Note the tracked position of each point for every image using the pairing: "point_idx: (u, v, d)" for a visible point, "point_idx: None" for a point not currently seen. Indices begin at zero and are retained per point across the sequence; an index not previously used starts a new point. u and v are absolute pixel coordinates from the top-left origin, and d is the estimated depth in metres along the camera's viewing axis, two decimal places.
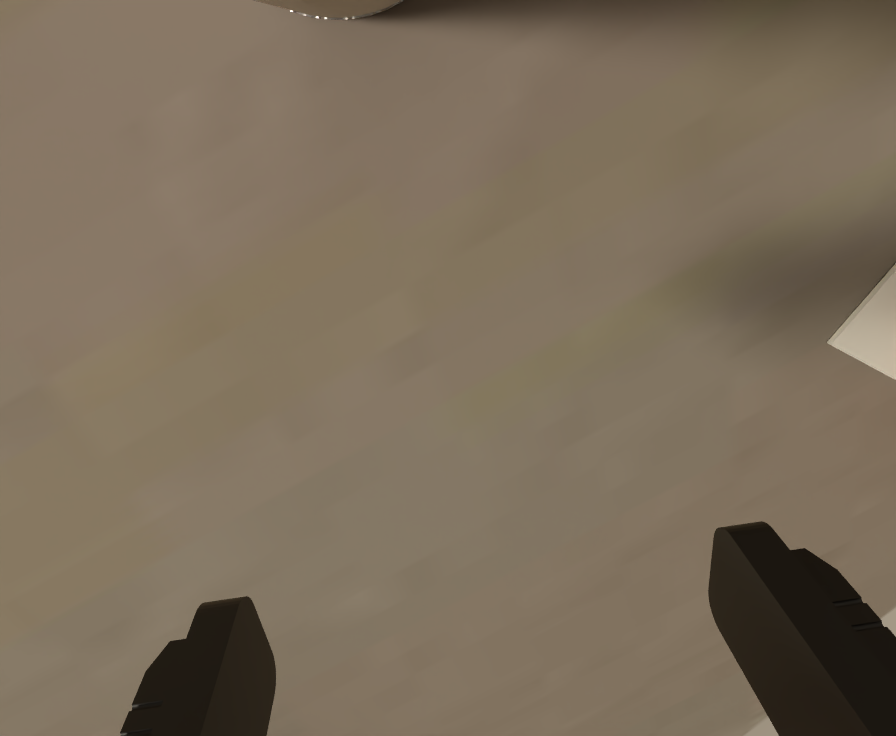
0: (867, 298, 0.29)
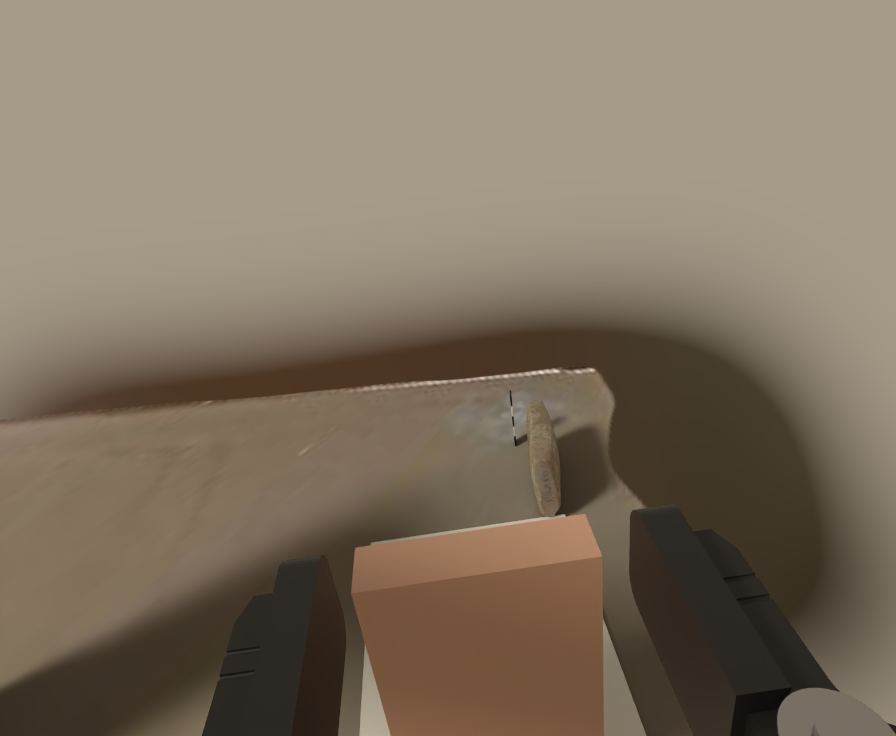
0: None
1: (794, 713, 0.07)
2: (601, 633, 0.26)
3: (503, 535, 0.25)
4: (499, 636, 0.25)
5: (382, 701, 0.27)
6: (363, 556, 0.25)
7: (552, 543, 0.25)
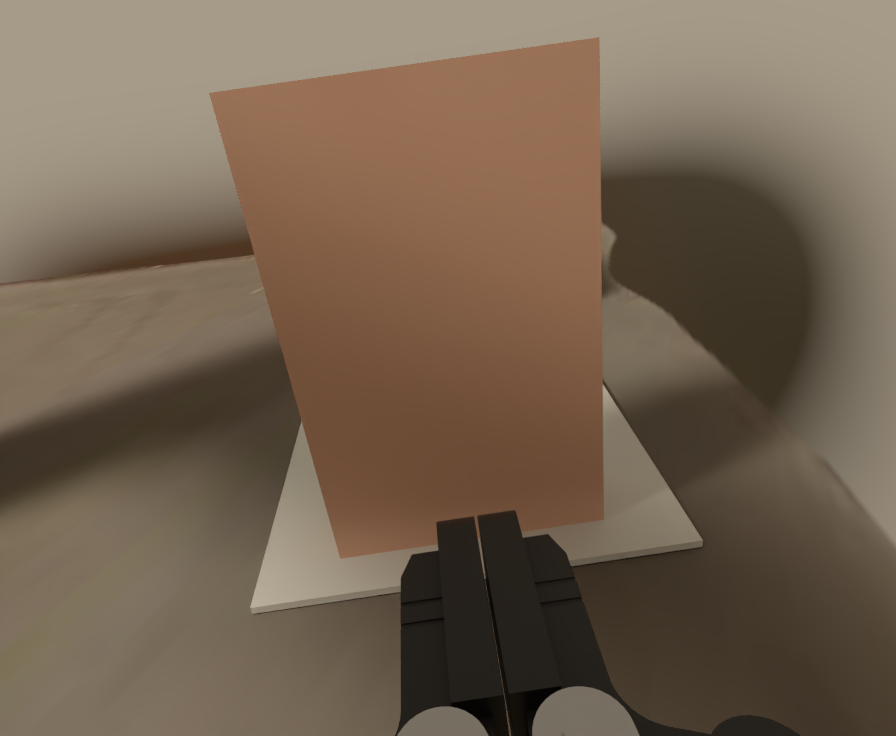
0: None
1: (552, 711, 0.07)
2: (598, 213, 0.17)
3: None
4: (446, 209, 0.17)
5: (279, 335, 0.18)
6: None
7: None
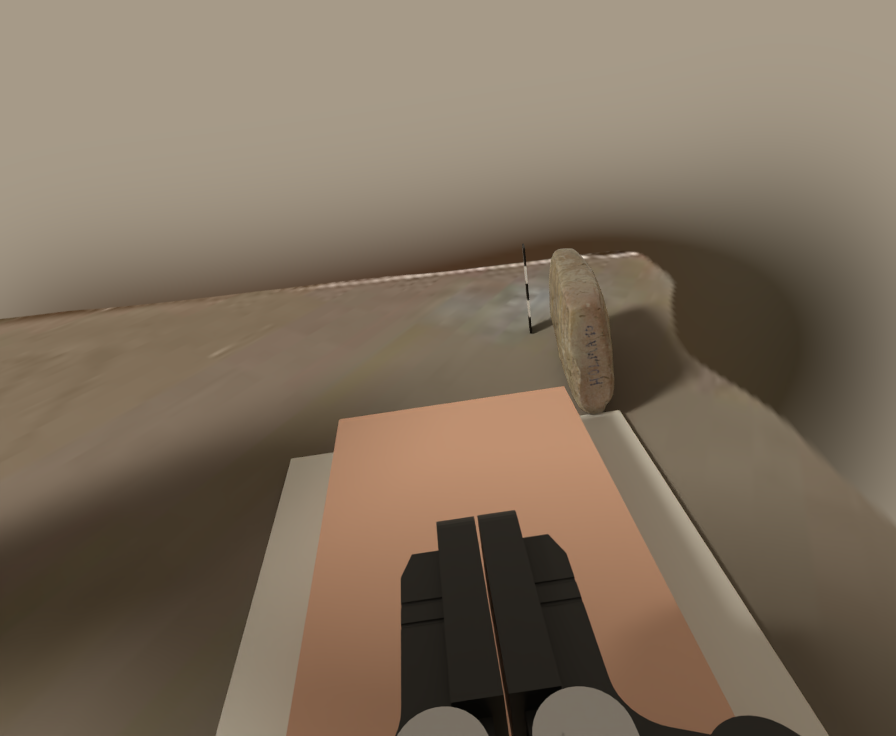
0: None
1: (552, 710, 0.07)
2: (591, 443, 0.22)
3: None
4: (474, 449, 0.23)
5: (323, 524, 0.20)
6: None
7: None
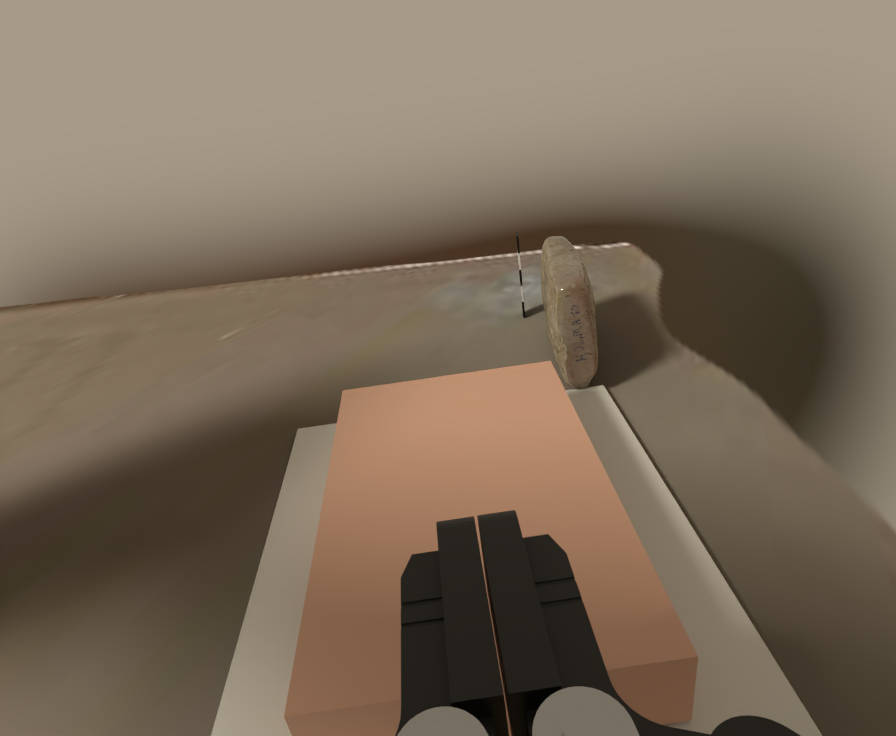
0: None
1: (552, 710, 0.07)
2: (573, 409, 0.25)
3: None
4: (466, 414, 0.25)
5: (328, 477, 0.22)
6: None
7: None
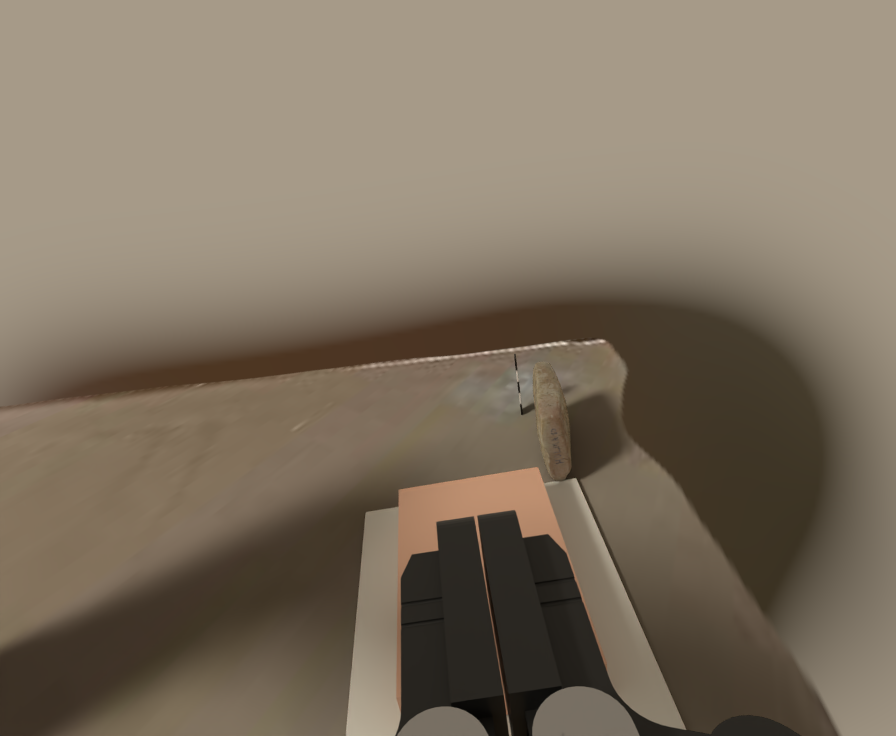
0: None
1: (552, 710, 0.07)
2: (551, 507, 0.38)
3: None
4: (482, 510, 0.39)
5: (398, 557, 0.36)
6: None
7: None
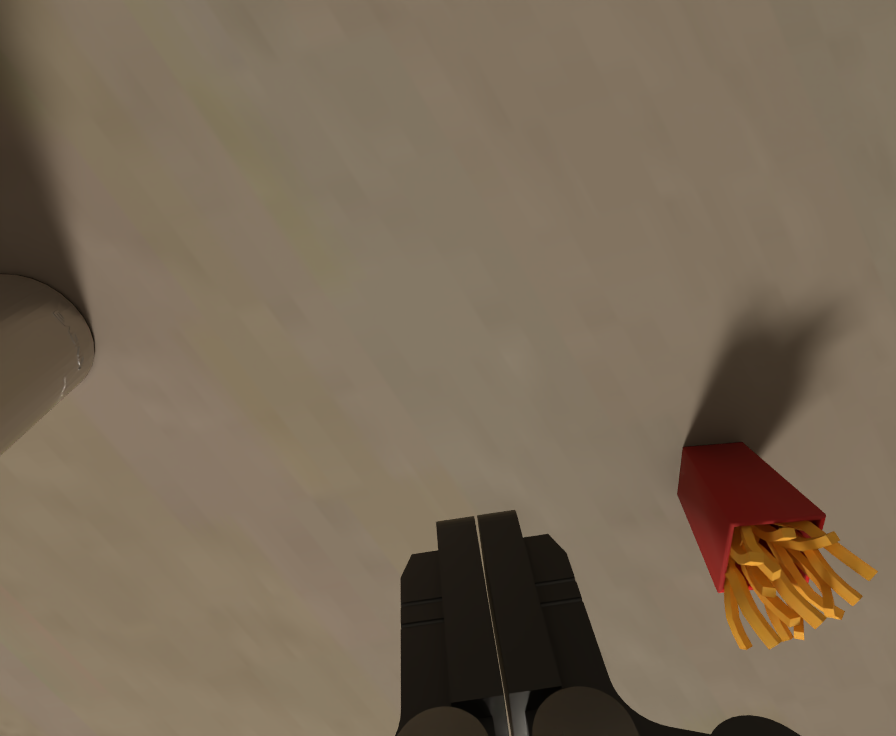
0: None
1: (552, 710, 0.07)
2: None
3: None
4: None
5: None
6: None
7: None
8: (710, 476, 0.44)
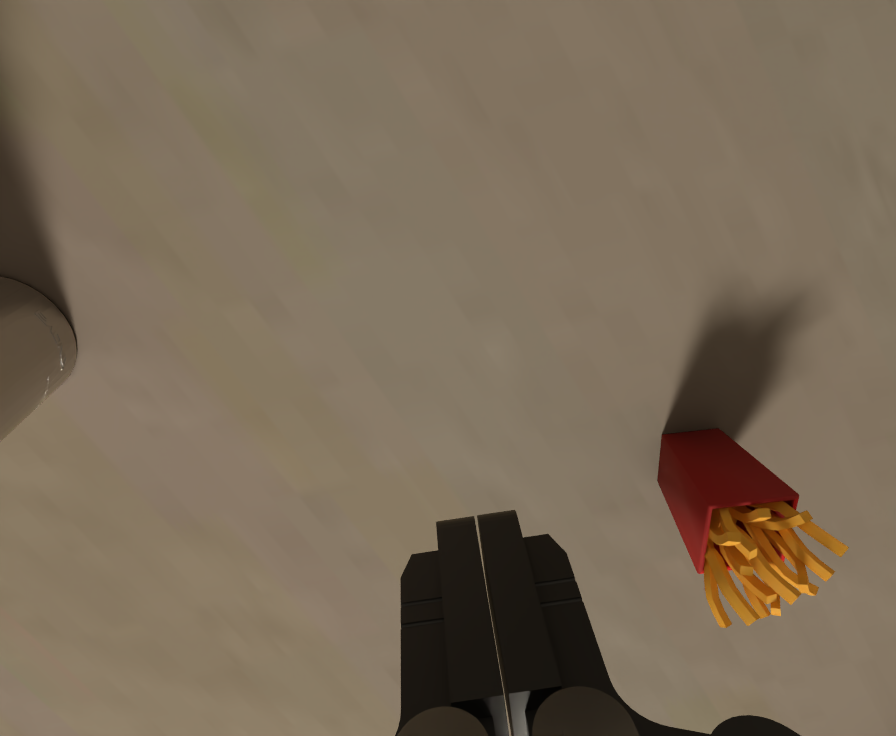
0: None
1: (552, 710, 0.07)
2: None
3: None
4: None
5: None
6: None
7: None
8: (688, 461, 0.46)
